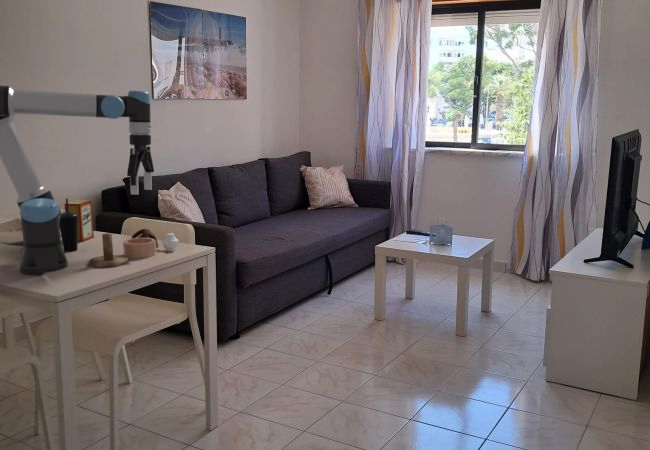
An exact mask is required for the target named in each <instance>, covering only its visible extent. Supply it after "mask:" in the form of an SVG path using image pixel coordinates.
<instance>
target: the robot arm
mask: <svg viewBox="0 0 650 450" xmlns="http://www.w3.org/2000/svg"><path fill="white" fill-rule="evenodd" d="M16 114H19V115H20V114H22V115H40V116H41V115H42V116H61V117H62V116H63V117H64V116H66V117H83V118H85V117H87V118H103V119H105V118H107V119H114V120H116V119H119V118H128V121H129V122H128V123H129V124H128V132H129V145H131V146H134V147H133V148H132V147H131V148H130V149H129V159H128V164H127V165H128V166H127V172H126V173H127V174H126V175H127V177H130V178H129V181H130V182H129V186H130V195H136V196H137V195H139V190H140V189H139V176H138V172H139V170H140V166H141V164H142V168H143V169H144V172H143V190H146V191H152V190H153V188H152V187H153V183H152V182H153V180H152V173H155V170H154V168H155V167H154V164H153V157H152V152H151V146H150V145H151V144H152V135H151V128H152V127H153V126H152V124H151V96H150V93H149V92H148V91H146V90H129V91H128V93H127V95H124V96H123V95H114V94H109V95H108V94H107V95H106V94H89V93H78V92H77V93H74V92H59V91H58V92H57V91H46V90H45V91H44V90H43V91H41V90H28V89H27V90H26V89H23V90H22V89H14V88H13V87H12V86H10V85H1V84H0V159H1V162H2V164H3V167H4V168H5V170H6V172H7V175H8V177H9V178H10V181H11V182H12V184H13V187H14V189H15V191H16V193H17V195H18V197H17V198H16V203H17V206H18V209H19V210H20V211H19V214H20V219H21V230H22V239H23V240H22V241H23V242H22V243H23V251H22V255H21V258H20V261H19V272H20V273H21V274H25V275H34V276H35V275H38V276H39V275H46V273H52V272H57V271H62V270H64V269H67V267H69V262H68V258H67V256H66V254H65V251H64V249H63V246H62V237H61V232H60V223H59V221H60V217H61V213H62V212H61V208H60V205H59V203H58V202H57V201H56V200H55V198H54V196H53V194H52V192H51V189H50V188H48V187H46V186H44V184H43V183H42V181H41V179H40V177H39V175H38V174H39V173H38V172H37V169H36V167H35V166H34V164H33V162H32V160H31V157H30V155H29V153H28V150H27V149H26V146H25V145H24V142H23V141H22V138H21V135H20V134H19V131H18V129H17V128H16V126H15V125H16V124H15V123H14V120H15V117H16Z"/></svg>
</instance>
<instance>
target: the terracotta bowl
mask: <svg viewBox="0 0 650 450" xmlns="http://www.w3.org/2000/svg"><path fill="white" fill-rule="evenodd" d="M122 242H123V244H122V245H123V256H126V257H128V259H133V260H134V259H135V260H137V259H147V258H153V257H155V256H156V255H157V248H156V240H155V239H153V238H137V237H136V238H133V239H131V238H128V239H125V240H124V241H122Z"/></svg>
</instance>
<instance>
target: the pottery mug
mask: <svg viewBox="0 0 650 450" xmlns="http://www.w3.org/2000/svg"><path fill="white" fill-rule="evenodd" d="M133 238H153V239H155V240H156V249H157V248H158V247H159V243H158V239H157V237H156V236H155V233H153V232H152V231H151V230H150V229H147V228H142V229H140V230H137V231H136V232H134V233H133V234H132V236H131V237H130V239H133Z"/></svg>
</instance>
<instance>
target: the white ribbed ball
mask: <svg viewBox="0 0 650 450" xmlns="http://www.w3.org/2000/svg"><path fill="white" fill-rule="evenodd" d="M161 243H162V246H163V248H164V249H165V251H166V252H174V251H176V249H177V247H178V244H179V239H177V238H176V236H175V234H174V233H172V232H168V233H166V234H165V235H164V237H163V239H162V240H161Z"/></svg>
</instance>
